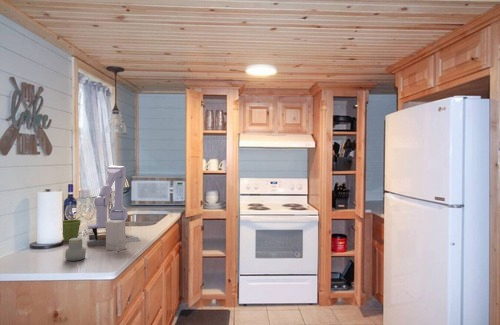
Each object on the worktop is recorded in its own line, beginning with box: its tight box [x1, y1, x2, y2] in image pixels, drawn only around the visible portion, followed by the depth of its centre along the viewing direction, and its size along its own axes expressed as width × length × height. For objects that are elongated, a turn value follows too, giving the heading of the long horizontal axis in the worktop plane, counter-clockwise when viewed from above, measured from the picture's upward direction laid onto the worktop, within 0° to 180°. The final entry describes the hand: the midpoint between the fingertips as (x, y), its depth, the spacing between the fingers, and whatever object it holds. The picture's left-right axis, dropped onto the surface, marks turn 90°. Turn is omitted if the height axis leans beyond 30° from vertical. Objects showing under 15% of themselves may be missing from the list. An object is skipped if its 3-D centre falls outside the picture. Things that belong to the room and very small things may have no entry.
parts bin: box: [87, 233, 106, 247], centre depth 212 cm, size 17×14×3 cm
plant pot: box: [62, 219, 82, 242], centre depth 217 cm, size 12×12×11 cm
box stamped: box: [97, 233, 106, 240], centre depth 209 cm, size 4×4×5 cm
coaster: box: [126, 236, 141, 243], centre depth 219 cm, size 11×11×1 cm
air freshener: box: [64, 237, 86, 262], centre depth 178 cm, size 11×8×10 cm
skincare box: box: [105, 220, 127, 252], centre depth 197 cm, size 8×7×16 cm
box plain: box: [97, 230, 106, 234], centre depth 216 cm, size 4×4×5 cm
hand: (101, 241), depth 209 cm, fingers closed on box stamped, 4 cm apart
